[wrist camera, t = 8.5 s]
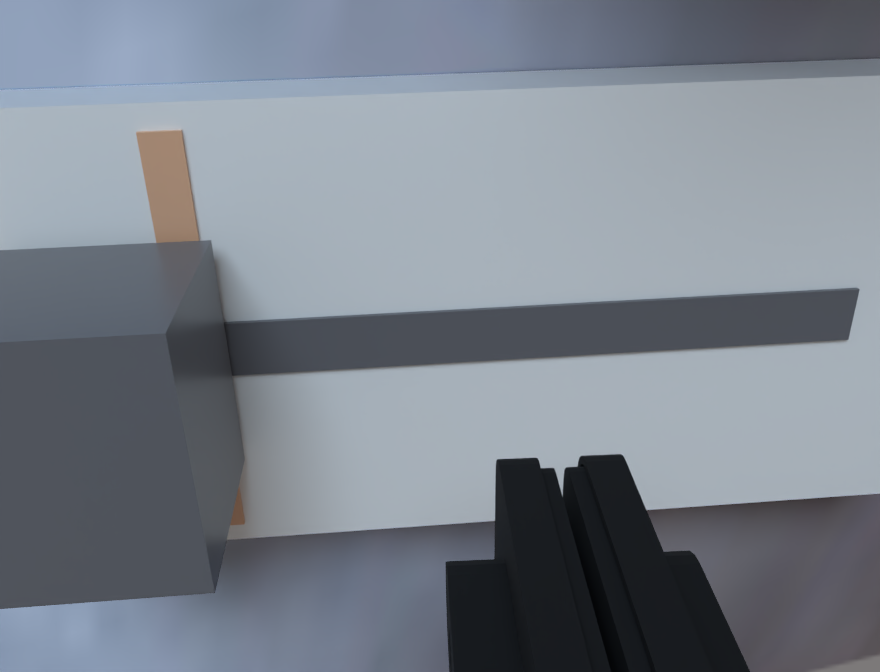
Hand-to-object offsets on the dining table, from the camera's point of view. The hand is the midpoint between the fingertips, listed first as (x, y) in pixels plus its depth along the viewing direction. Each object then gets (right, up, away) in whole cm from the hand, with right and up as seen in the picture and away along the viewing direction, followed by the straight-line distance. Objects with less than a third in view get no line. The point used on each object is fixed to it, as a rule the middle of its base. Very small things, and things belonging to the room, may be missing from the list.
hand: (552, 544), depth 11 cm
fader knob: (-8, +2, +5) cm, 10 cm away
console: (-3, +4, +8) cm, 9 cm away
